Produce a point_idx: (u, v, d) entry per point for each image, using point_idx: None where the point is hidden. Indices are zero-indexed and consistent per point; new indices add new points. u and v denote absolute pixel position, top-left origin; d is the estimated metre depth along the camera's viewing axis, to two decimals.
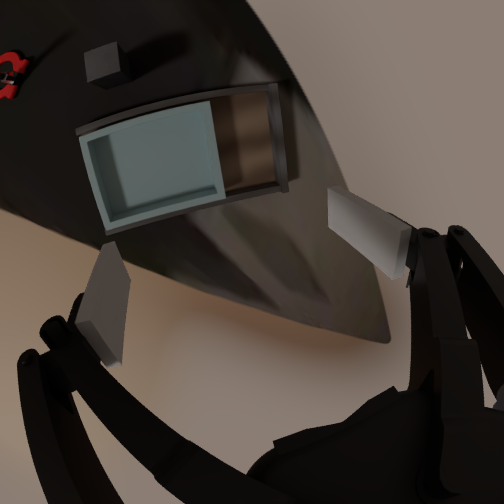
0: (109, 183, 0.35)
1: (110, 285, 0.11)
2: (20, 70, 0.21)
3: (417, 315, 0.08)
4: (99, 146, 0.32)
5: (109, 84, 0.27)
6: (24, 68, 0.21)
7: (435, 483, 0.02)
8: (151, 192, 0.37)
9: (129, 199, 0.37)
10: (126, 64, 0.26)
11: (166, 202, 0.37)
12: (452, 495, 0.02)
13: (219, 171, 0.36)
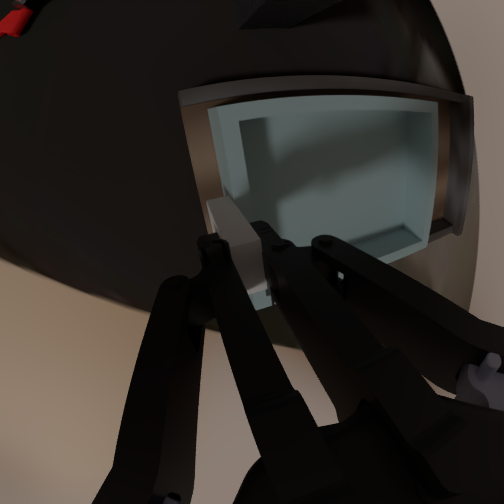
0: (255, 216, 0.20)
1: None
2: None
3: (305, 339, 0.09)
4: (242, 136, 0.17)
5: (271, 14, 0.12)
6: None
7: (446, 494, 0.02)
8: (327, 234, 0.22)
9: None
10: None
11: None
12: (468, 487, 0.02)
13: (431, 210, 0.21)
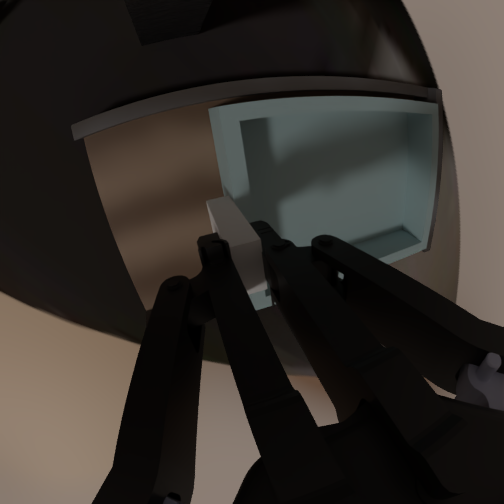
0: (255, 216, 0.20)
1: None
2: None
3: (305, 339, 0.09)
4: (243, 136, 0.17)
5: (157, 26, 0.10)
6: None
7: (447, 494, 0.02)
8: None
9: None
10: None
11: None
12: (468, 487, 0.02)
13: (431, 211, 0.21)
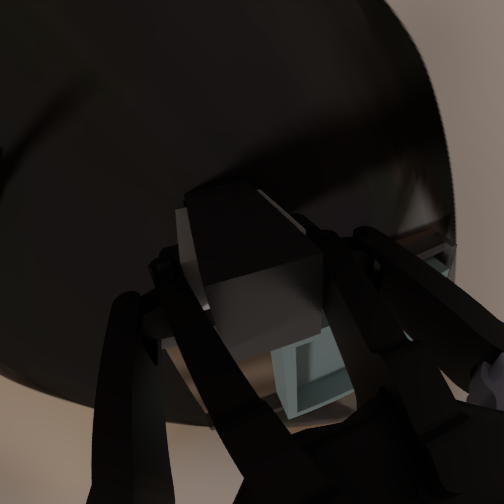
0: None
1: None
2: None
3: (338, 326, 0.09)
4: None
5: None
6: None
7: (442, 492, 0.02)
8: (341, 362, 0.28)
9: (313, 374, 0.27)
10: None
11: None
12: (464, 490, 0.02)
13: None
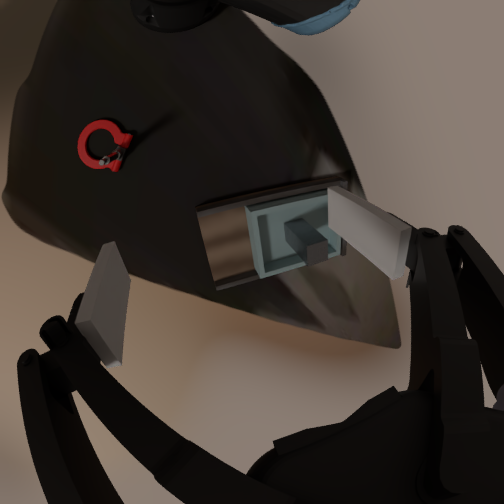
0: (261, 243, 0.53)
1: (110, 285, 0.11)
2: (125, 145, 0.38)
3: (417, 315, 0.08)
4: (257, 215, 0.50)
5: None
6: (129, 143, 0.38)
7: (435, 483, 0.02)
8: (290, 249, 0.55)
9: (274, 254, 0.55)
10: None
11: None
12: (452, 495, 0.02)
13: (339, 237, 0.54)
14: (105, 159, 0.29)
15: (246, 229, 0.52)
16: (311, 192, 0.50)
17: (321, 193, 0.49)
